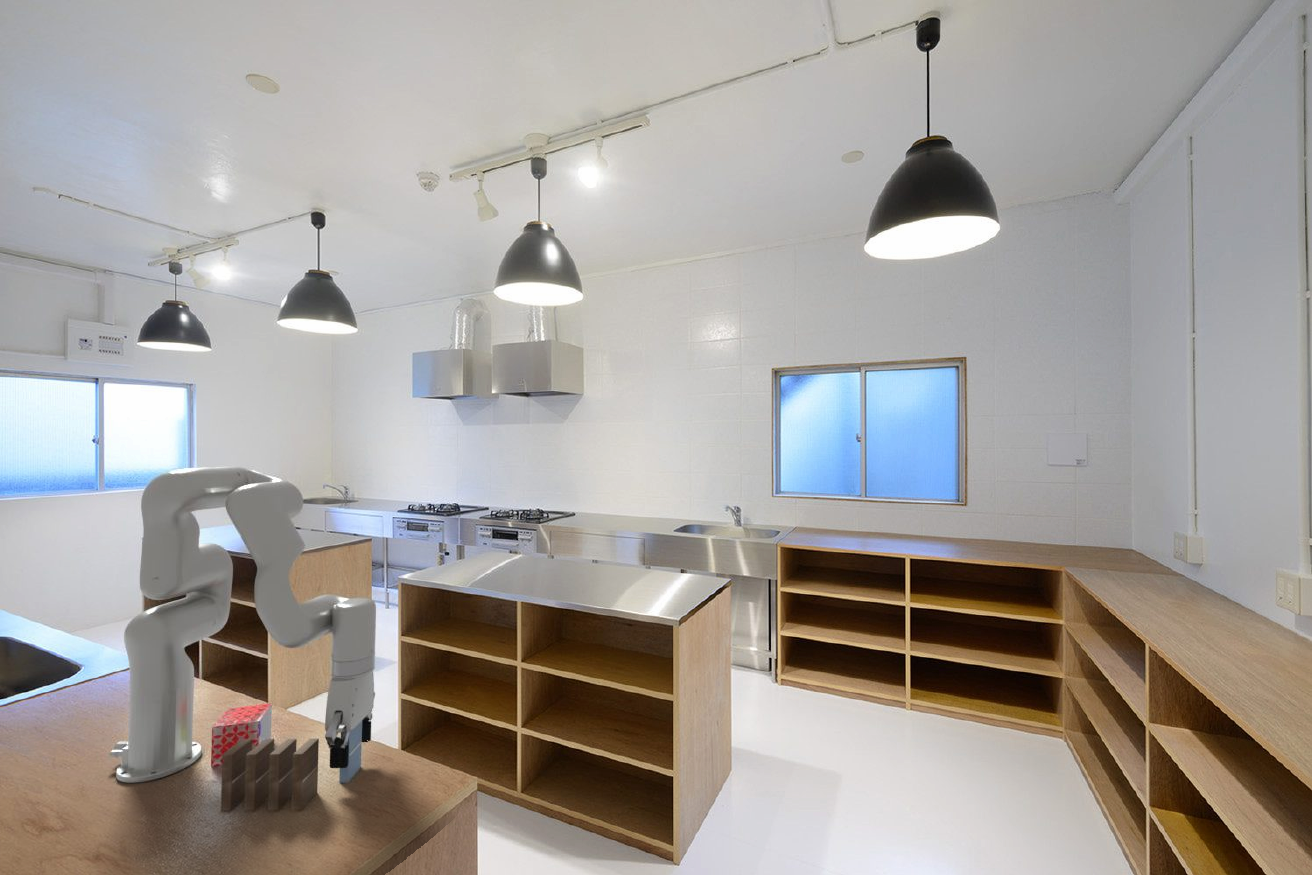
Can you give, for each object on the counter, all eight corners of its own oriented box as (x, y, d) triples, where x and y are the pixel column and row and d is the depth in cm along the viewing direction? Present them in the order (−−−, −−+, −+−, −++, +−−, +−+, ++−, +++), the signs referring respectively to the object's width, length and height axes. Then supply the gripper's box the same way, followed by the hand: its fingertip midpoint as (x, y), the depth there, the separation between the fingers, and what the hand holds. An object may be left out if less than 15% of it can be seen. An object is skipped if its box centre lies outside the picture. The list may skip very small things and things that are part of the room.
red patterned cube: (227, 745, 115) (228, 708, 115) (270, 739, 117) (271, 703, 118) (210, 767, 107) (211, 727, 107) (258, 760, 110) (259, 720, 110)
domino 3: (267, 811, 95) (269, 754, 95) (285, 793, 100) (287, 738, 100) (277, 811, 95) (279, 754, 95) (295, 793, 100) (296, 738, 100)
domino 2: (244, 811, 94) (245, 754, 95) (263, 793, 99) (265, 738, 100) (254, 811, 95) (255, 754, 95) (273, 793, 100) (274, 738, 100)
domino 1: (220, 812, 94) (222, 754, 94) (241, 793, 99) (242, 739, 99) (230, 812, 94) (232, 754, 95) (250, 793, 99) (252, 738, 100)
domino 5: (339, 782, 103) (340, 729, 103) (352, 766, 108) (353, 716, 108) (348, 782, 103) (349, 729, 103) (361, 766, 108) (362, 716, 108)
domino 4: (291, 811, 95) (292, 753, 95) (308, 792, 100) (309, 738, 100) (301, 811, 95) (302, 753, 95) (317, 792, 100) (319, 738, 100)
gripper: (356, 647, 114) (354, 730, 114) (307, 683, 97) (304, 781, 97) (392, 647, 115) (390, 730, 115) (349, 683, 97) (347, 781, 97)
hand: (351, 753), depth 106 cm, fingers open, 8 cm apart
